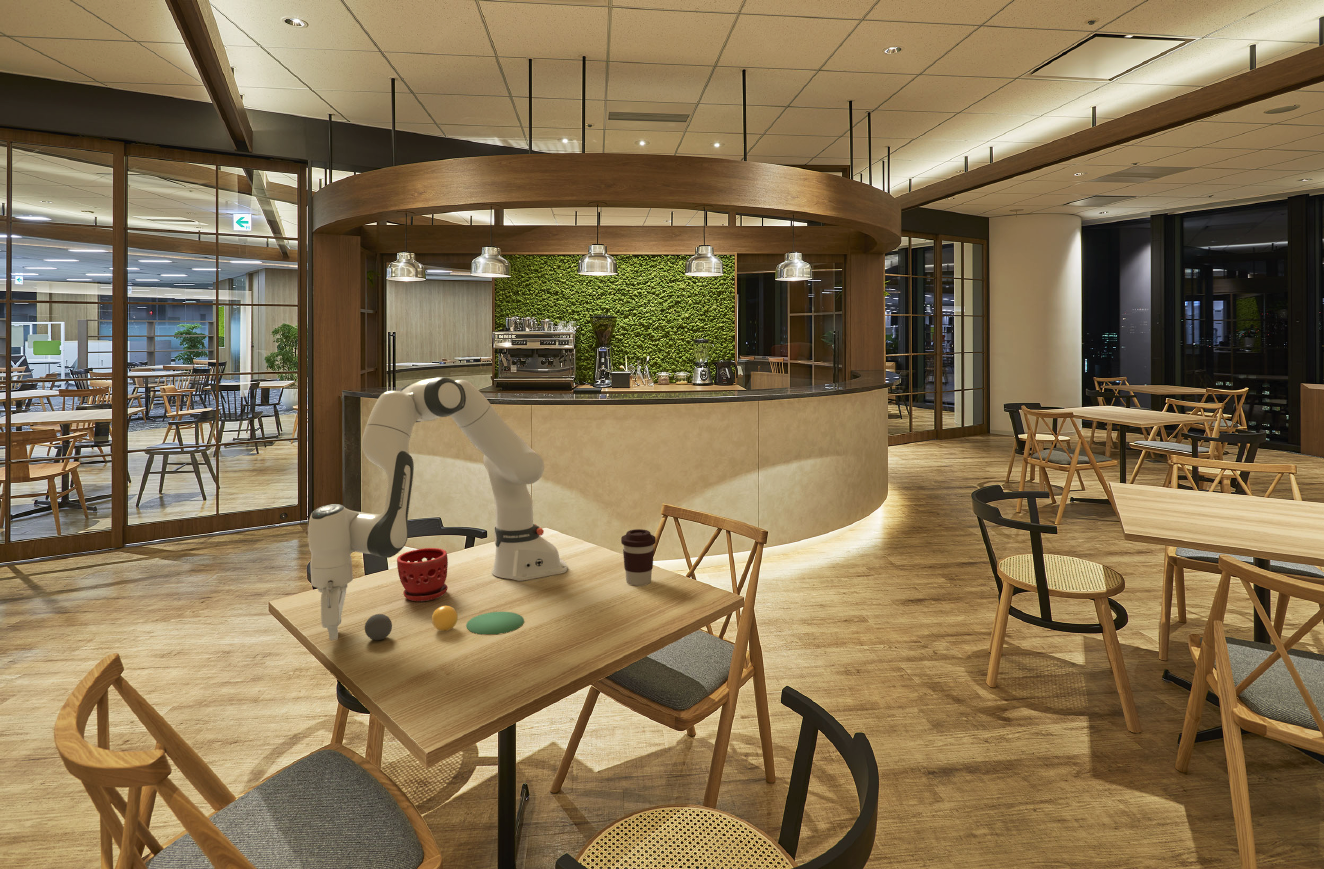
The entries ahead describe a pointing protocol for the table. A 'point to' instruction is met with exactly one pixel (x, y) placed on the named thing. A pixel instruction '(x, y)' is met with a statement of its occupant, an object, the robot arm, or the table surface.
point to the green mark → (495, 623)
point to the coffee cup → (638, 556)
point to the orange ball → (444, 618)
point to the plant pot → (423, 573)
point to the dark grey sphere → (378, 627)
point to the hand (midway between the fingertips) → (335, 631)
